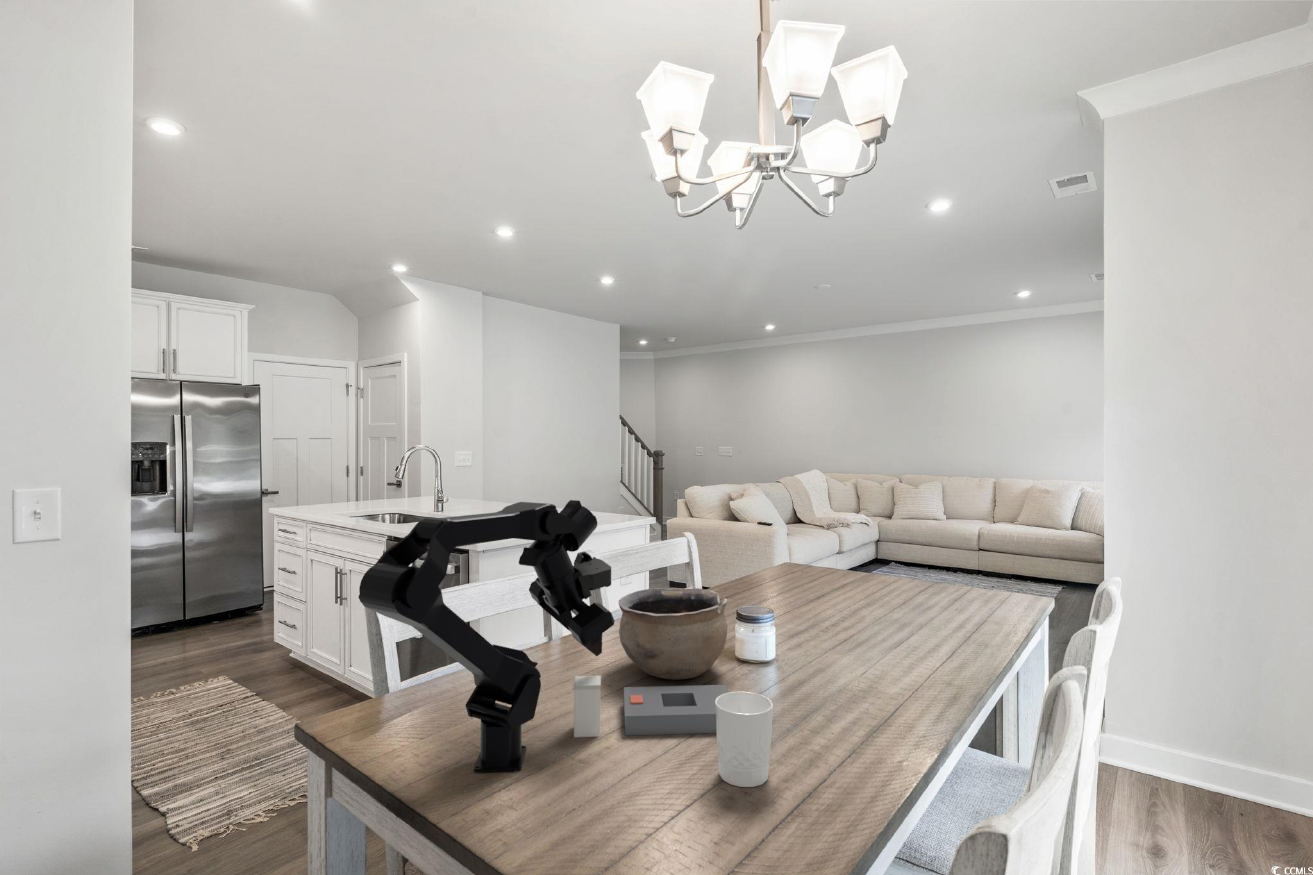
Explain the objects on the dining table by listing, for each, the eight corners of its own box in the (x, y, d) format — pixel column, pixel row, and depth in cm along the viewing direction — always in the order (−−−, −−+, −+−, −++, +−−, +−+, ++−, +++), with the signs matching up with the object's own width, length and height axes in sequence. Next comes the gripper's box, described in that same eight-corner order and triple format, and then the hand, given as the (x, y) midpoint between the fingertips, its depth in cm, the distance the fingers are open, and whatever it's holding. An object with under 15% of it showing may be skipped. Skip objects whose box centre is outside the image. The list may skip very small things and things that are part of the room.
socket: (739, 732, 101) (739, 711, 101) (625, 735, 100) (625, 714, 100) (725, 701, 113) (725, 683, 113) (623, 704, 112) (623, 685, 112)
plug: (600, 736, 99) (600, 685, 100) (573, 737, 99) (573, 685, 99) (600, 724, 104) (601, 675, 104) (574, 725, 103) (575, 676, 103)
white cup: (734, 755, 94) (734, 687, 94) (783, 773, 89) (783, 700, 89) (703, 777, 87) (703, 703, 88) (753, 797, 82) (753, 719, 83)
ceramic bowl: (733, 694, 116) (734, 612, 117) (614, 694, 116) (615, 611, 117) (720, 654, 139) (720, 585, 139) (620, 654, 138) (621, 585, 139)
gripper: (626, 564, 98) (653, 638, 105) (568, 525, 113) (595, 592, 120) (566, 605, 93) (598, 680, 100) (514, 559, 108) (544, 627, 115)
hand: (584, 641), depth 109 cm, fingers open, 9 cm apart
